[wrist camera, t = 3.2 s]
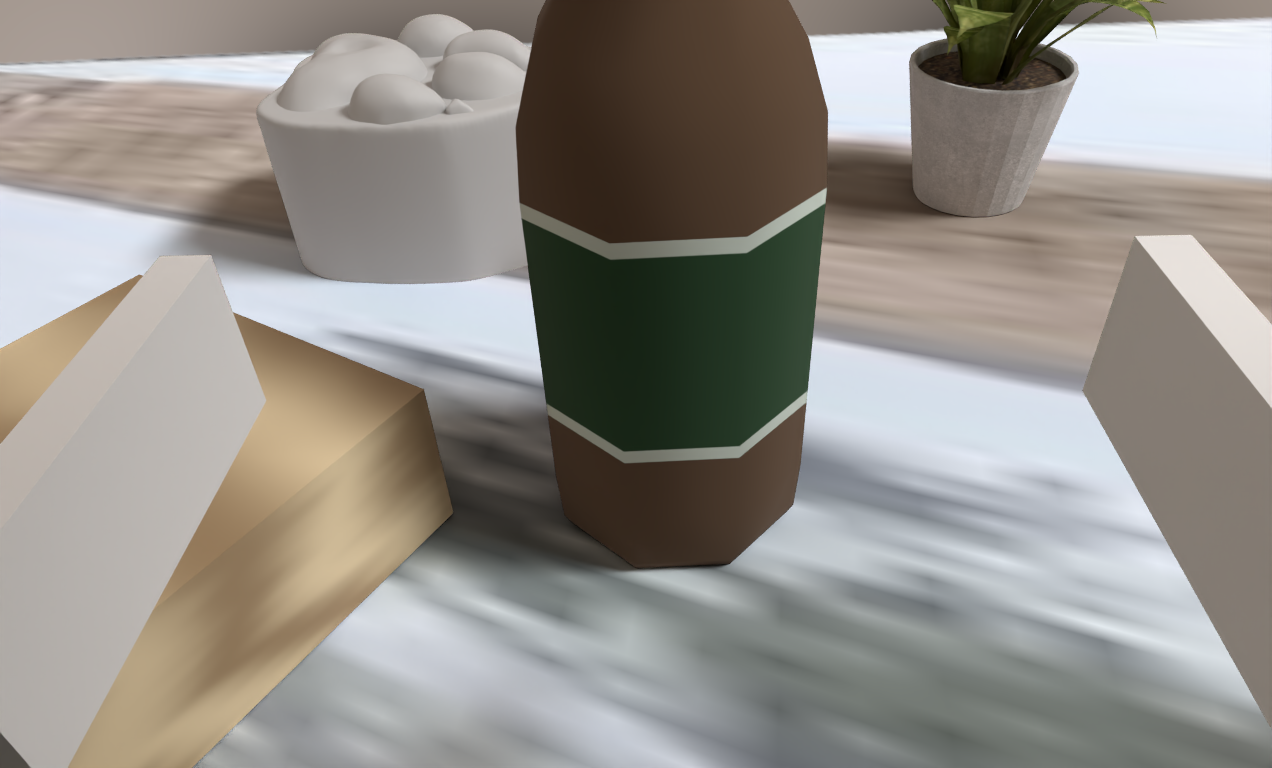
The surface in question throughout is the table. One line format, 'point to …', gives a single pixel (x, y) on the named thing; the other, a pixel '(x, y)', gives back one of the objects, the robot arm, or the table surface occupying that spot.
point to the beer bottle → (673, 264)
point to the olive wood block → (257, 535)
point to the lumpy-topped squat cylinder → (402, 154)
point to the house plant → (989, 101)
